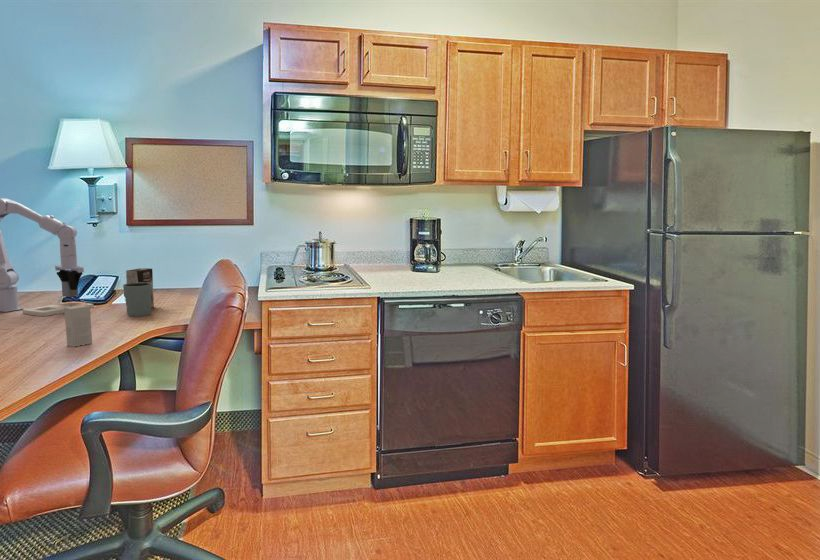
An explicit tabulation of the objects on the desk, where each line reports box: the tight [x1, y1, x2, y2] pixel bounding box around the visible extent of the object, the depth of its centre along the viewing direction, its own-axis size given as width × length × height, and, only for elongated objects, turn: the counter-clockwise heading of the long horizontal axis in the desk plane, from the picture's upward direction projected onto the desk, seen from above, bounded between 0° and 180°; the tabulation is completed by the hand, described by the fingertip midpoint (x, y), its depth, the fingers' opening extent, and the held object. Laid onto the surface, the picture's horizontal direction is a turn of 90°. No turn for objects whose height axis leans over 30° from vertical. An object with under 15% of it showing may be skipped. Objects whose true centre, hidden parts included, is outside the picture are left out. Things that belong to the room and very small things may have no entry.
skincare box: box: [64, 305, 93, 348], centre depth 202 cm, size 6×4×12 cm
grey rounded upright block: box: [122, 282, 152, 318], centre depth 252 cm, size 10×10×12 cm
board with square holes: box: [21, 301, 94, 317], centre depth 259 cm, size 12×22×2 cm, turn 154°
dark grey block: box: [61, 280, 79, 298], centre depth 263 cm, size 4×4×6 cm
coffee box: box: [125, 267, 155, 309], centre depth 264 cm, size 9×6×16 cm
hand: (70, 289), depth 263 cm, fingers closed on dark grey block, 4 cm apart
